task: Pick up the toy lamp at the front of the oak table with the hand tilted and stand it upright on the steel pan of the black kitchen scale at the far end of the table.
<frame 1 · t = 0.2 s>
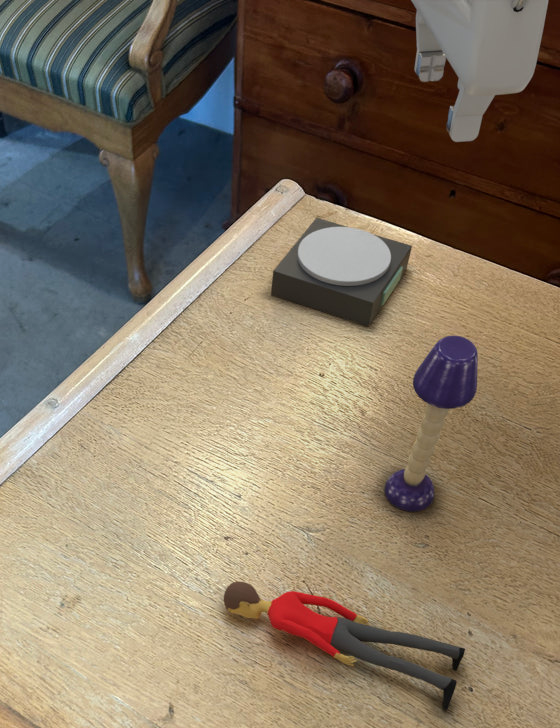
hand: (443, 105, 63), 28 cm above the table, tool pointing down, fingers open, 8 cm apart
toy lamp: (408, 497, 77), on the table
person figure: (458, 676, 65), point 1 cm above the table
kitchen scale: (339, 282, 96), on the table
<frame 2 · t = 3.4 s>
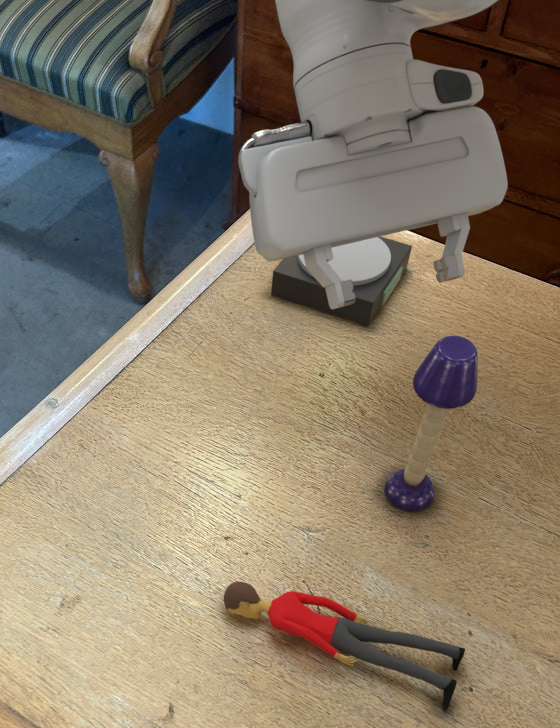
hand: (398, 293, 69), 15 cm above the table, tool tilted 45°, fingers open, 8 cm apart
nothing on the table moved.
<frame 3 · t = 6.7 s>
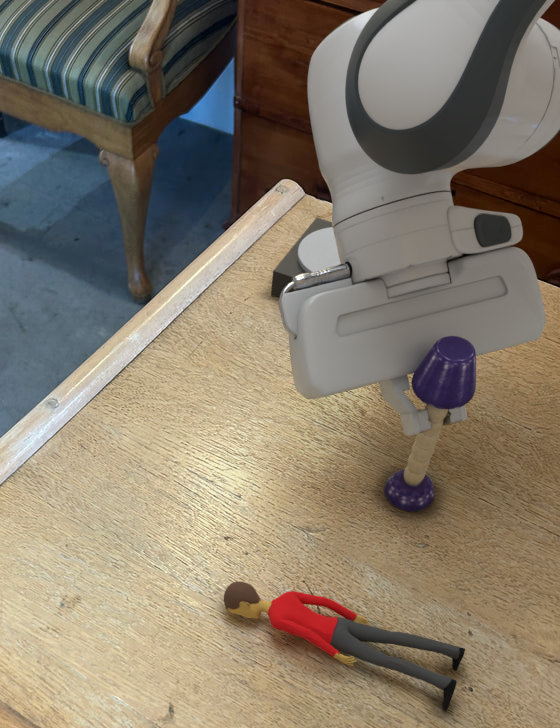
hand: (436, 428, 70), 9 cm above the table, tool tilted 45°, fingers closed on toy lamp
toy lamp: (408, 497, 77), on the table, touching gripper
everything else where it was.
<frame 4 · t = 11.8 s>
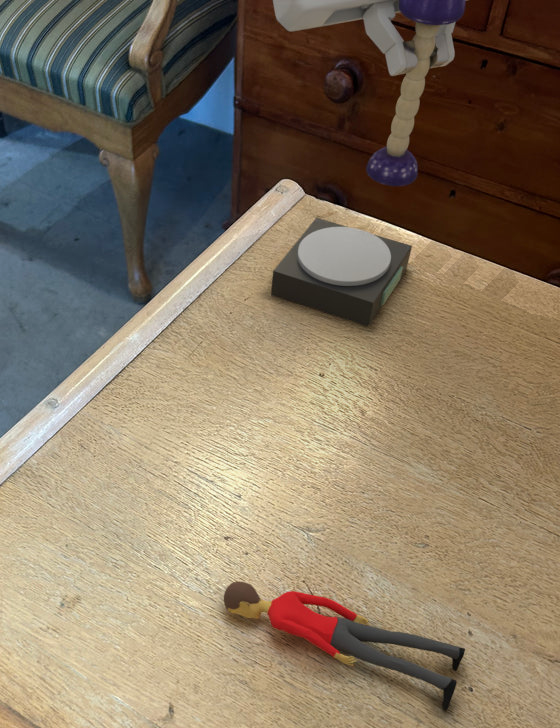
hand: (423, 68, 67), 27 cm above the table, tool tilted 45°, fingers closed on toy lamp
toy lamp: (390, 177, 74), point 18 cm above the table, touching gripper
everything else where it was.
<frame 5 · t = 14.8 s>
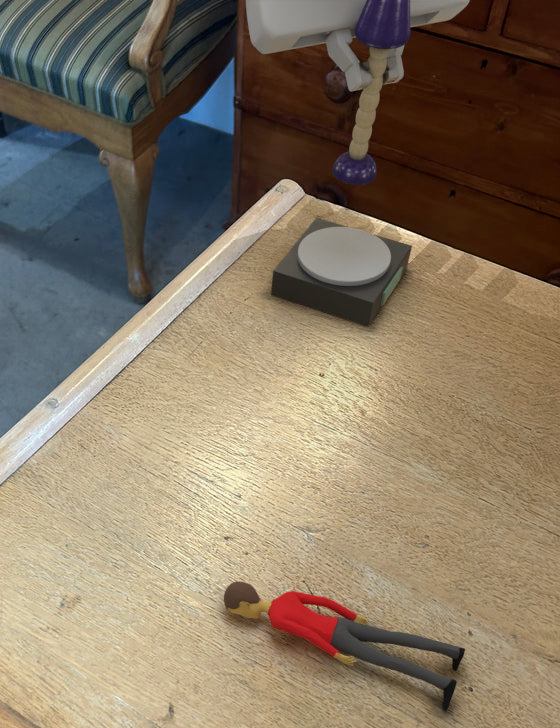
hand: (377, 84, 79), 21 cm above the table, tool tilted 45°, fingers closed on toy lamp
toy lamp: (353, 177, 86), point 12 cm above the table, touching gripper
everything else where it was.
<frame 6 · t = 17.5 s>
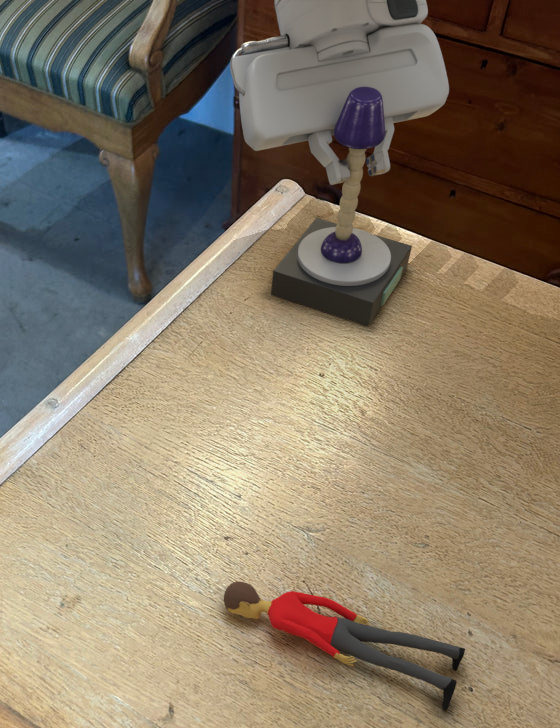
hand: (360, 177, 85), 12 cm above the table, tool tilted 45°, fingers open, 3 cm apart
toy lamp: (340, 255, 93), point 3 cm above the table, touching kitchen scale
everything else where it was.
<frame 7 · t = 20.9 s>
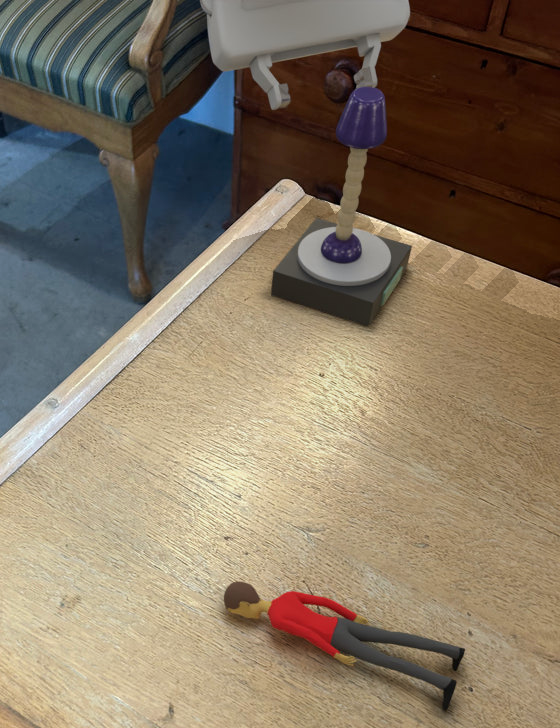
hand: (325, 98, 89), 16 cm above the table, tool tilted 45°, fingers open, 8 cm apart
nothing on the table moved.
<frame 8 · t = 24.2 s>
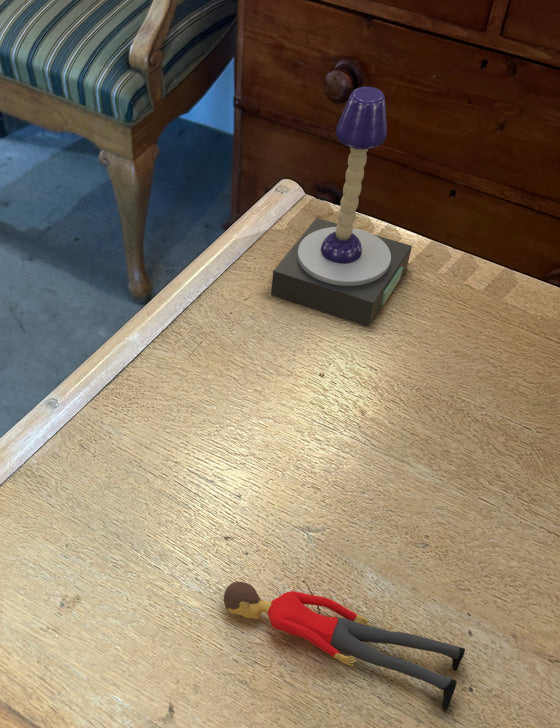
nothing on the table moved.
at the end: toy lamp inside the target area on the kitchen scale (0.4 cm from its centre), point 3.4 cm above the kitchen scale's base; toy lamp tilted 0°; the gripper is holding nothing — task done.
